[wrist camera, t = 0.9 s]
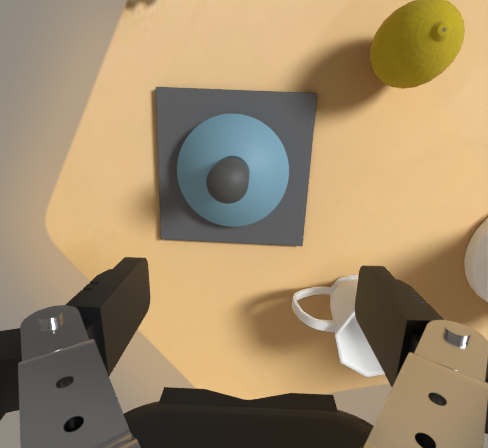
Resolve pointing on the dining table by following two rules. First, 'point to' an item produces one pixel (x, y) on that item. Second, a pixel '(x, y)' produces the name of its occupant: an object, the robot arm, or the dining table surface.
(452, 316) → the dining table surface
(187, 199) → the lid
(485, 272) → the decorative container
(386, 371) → the robot arm
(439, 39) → the lemon
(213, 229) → the mat
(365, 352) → the cup
